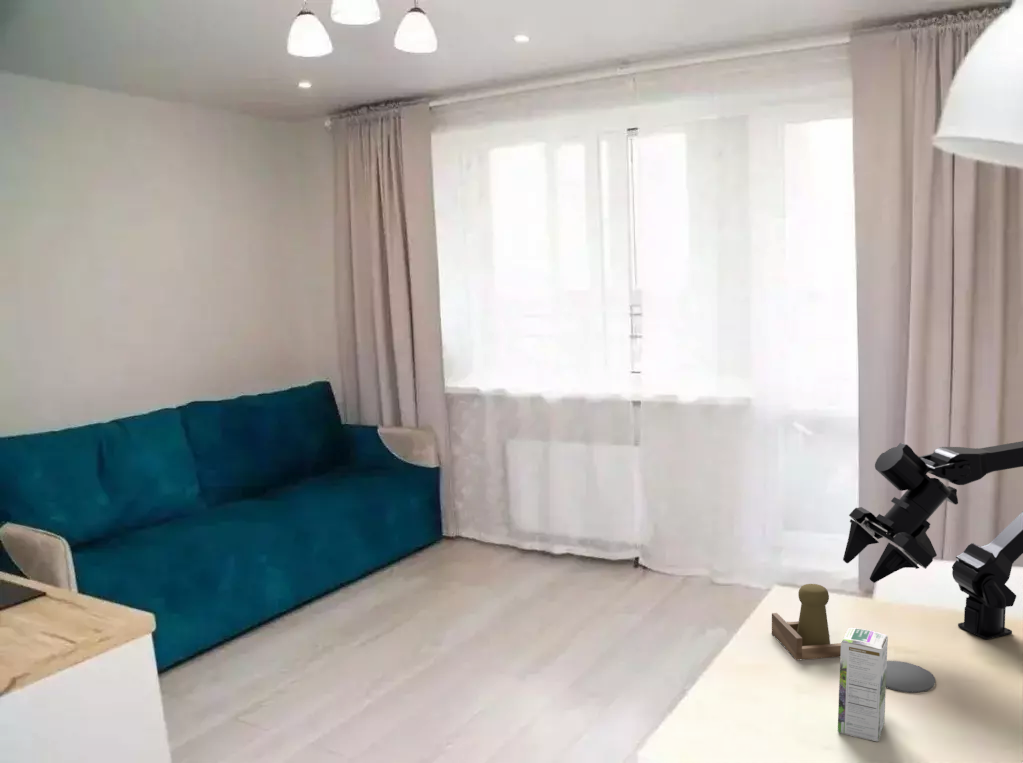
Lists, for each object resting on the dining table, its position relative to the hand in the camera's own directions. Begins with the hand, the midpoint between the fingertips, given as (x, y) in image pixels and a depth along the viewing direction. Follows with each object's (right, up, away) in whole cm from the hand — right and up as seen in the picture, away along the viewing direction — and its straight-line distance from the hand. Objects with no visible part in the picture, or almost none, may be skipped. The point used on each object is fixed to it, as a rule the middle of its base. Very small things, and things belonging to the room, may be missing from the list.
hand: (857, 571), depth 155 cm
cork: (-8, -14, +1) cm, 16 cm away
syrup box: (-10, -18, -27) cm, 34 cm away
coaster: (+2, -15, -12) cm, 19 cm away
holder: (-8, -13, +1) cm, 16 cm away
